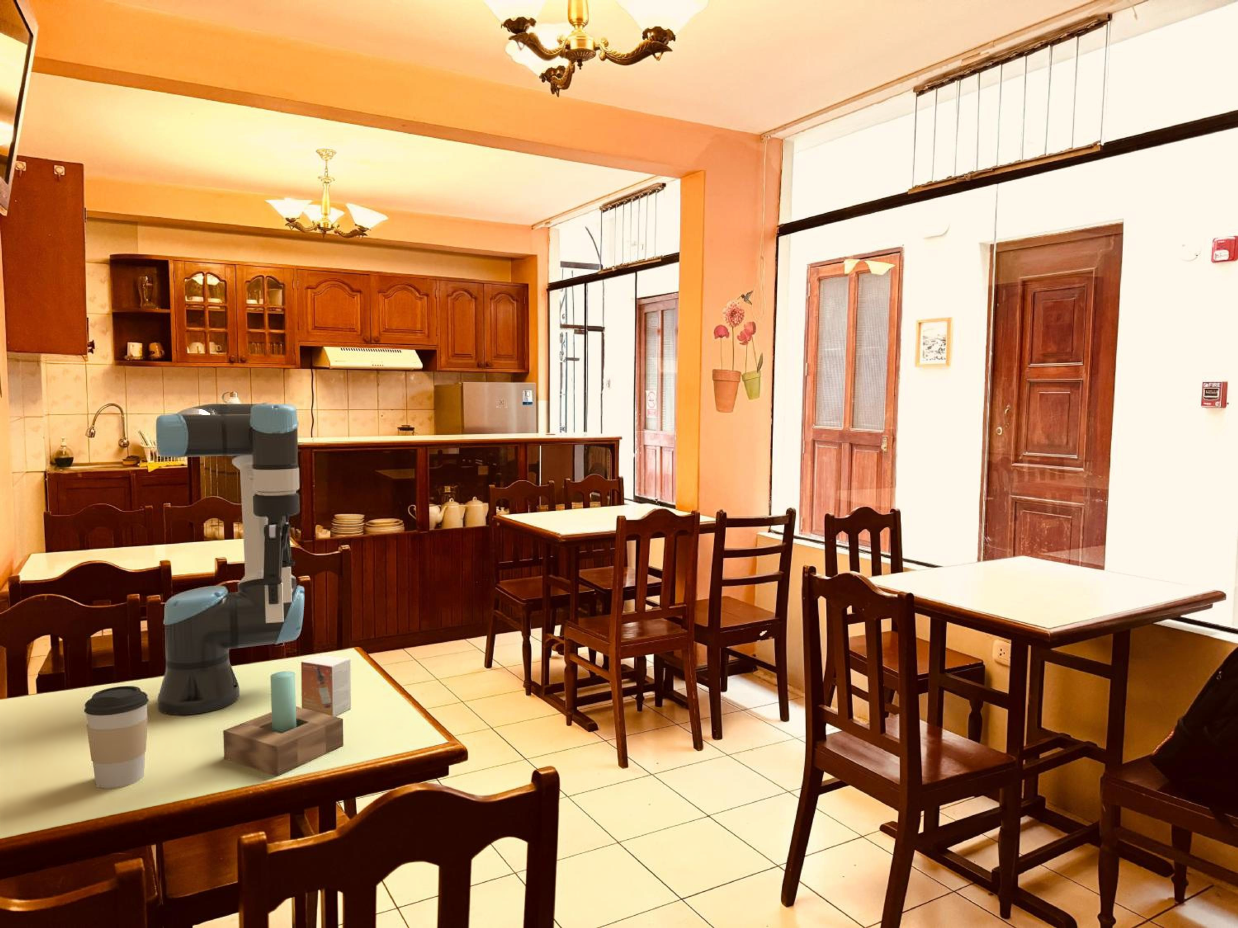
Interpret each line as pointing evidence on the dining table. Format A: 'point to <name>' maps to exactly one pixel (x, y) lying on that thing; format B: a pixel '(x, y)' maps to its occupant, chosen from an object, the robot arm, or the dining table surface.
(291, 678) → the peg
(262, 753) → the socket
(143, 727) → the coffee cup
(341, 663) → the small box
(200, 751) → the dining table surface
